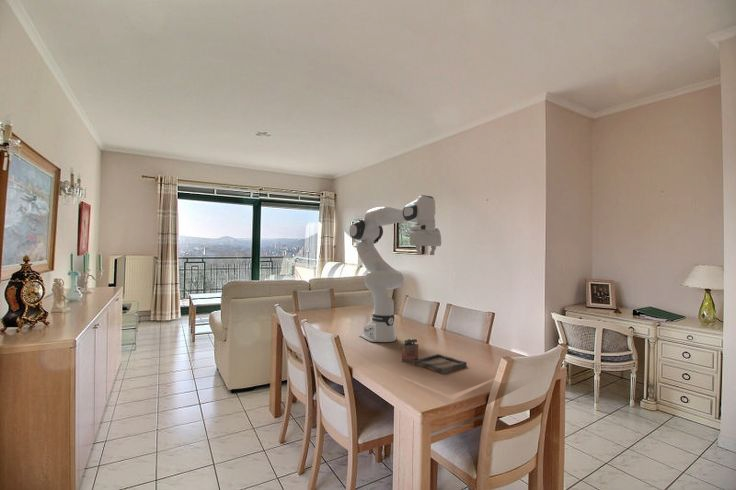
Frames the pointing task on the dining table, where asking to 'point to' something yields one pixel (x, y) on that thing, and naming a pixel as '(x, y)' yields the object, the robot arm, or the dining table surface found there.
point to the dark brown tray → (440, 363)
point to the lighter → (409, 351)
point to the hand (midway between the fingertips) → (425, 255)
